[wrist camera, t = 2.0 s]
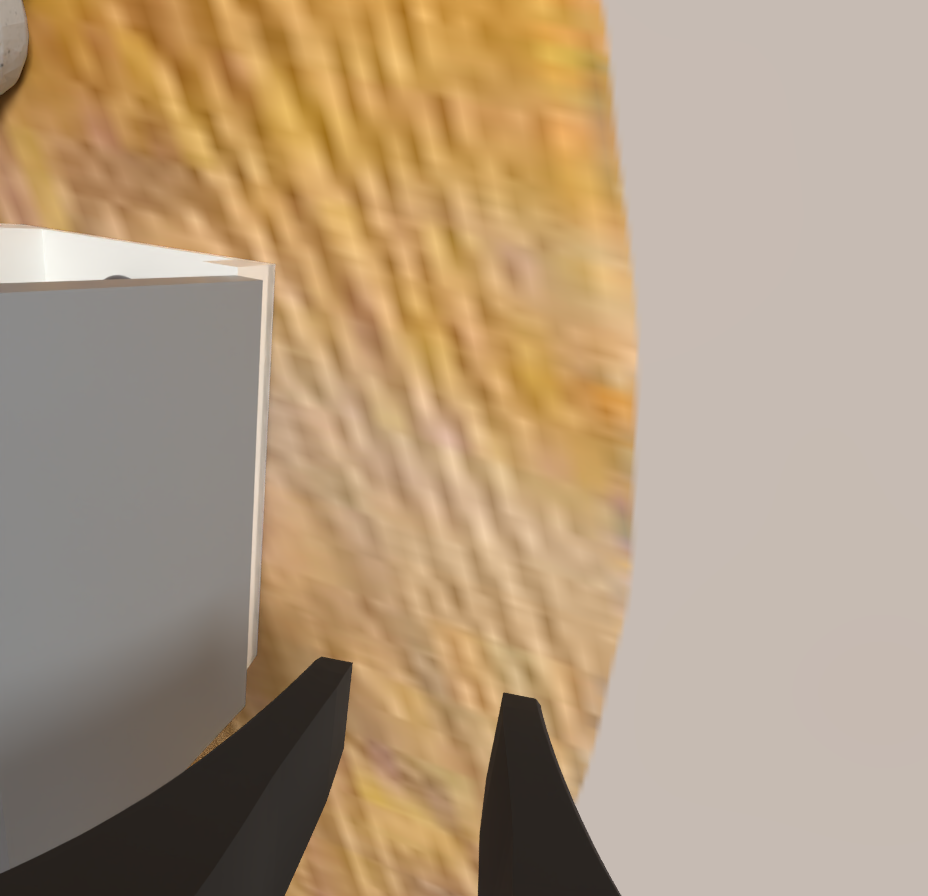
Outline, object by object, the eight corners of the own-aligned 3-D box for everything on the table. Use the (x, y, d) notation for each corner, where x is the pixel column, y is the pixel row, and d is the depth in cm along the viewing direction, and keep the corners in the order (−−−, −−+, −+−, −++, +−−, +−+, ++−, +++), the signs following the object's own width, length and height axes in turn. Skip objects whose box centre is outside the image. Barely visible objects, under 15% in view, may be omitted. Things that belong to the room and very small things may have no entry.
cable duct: (257, 654, 24) (225, 700, 21) (52, 614, 24) (-1, 654, 22) (275, 264, 19) (238, 267, 17) (23, 224, 20) (-48, 221, 17)
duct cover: (223, 698, 21) (245, 705, 21) (-11, 934, 14) (19, 948, 13) (235, 275, 17) (262, 280, 16) (-99, 287, 9) (-57, 295, 9)
